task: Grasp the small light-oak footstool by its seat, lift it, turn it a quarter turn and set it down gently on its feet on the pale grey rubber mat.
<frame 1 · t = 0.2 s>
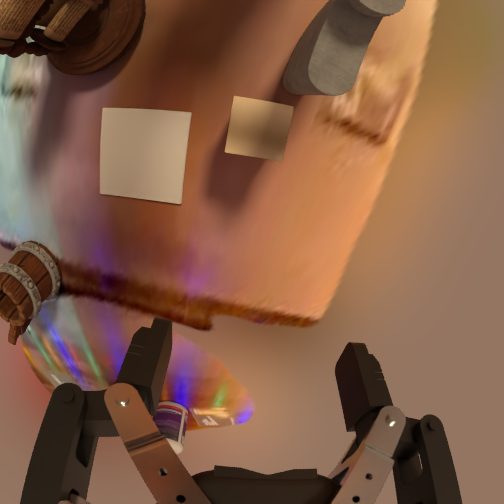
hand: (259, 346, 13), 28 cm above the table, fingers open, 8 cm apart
mat: (141, 154, 35), on the table
stool: (257, 121, 33), on the table
pill bottle: (172, 407, 64), on the table
hip flask: (317, 39, 28), on the table
mug: (41, 272, 45), on the table
scroll: (98, 24, 26), on the table
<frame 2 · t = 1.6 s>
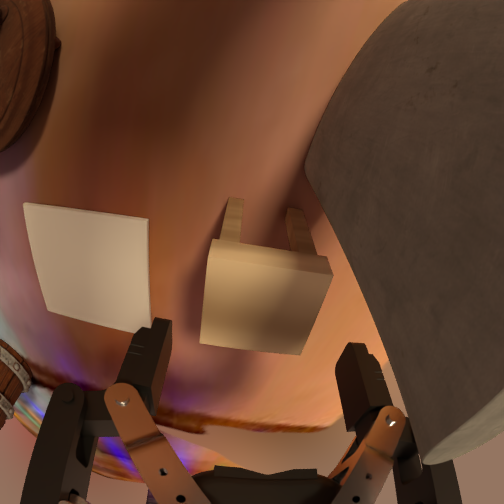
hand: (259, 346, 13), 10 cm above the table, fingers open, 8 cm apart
mat: (86, 272, 23), on the table
stool: (259, 235, 21), on the table
hip flask: (370, 84, 16), on the table
mug: (10, 362, 33), on the table
scroll: (2, 66, 14), on the table
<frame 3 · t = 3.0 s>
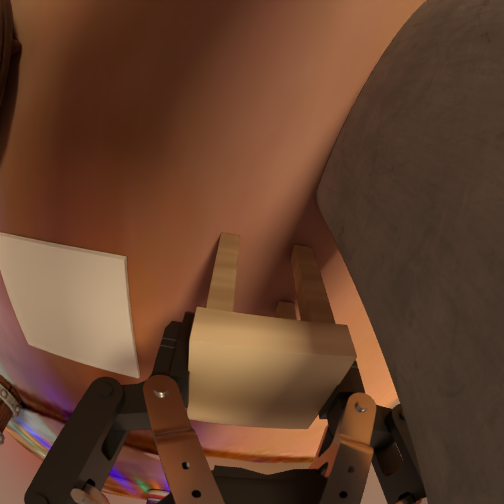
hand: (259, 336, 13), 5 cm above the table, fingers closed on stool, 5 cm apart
mat: (63, 310, 19), on the table
stool: (258, 277, 17), on the table, touching gripper
pill bottle: (166, 492, 49), on the table
hip flask: (399, 91, 12), on the table
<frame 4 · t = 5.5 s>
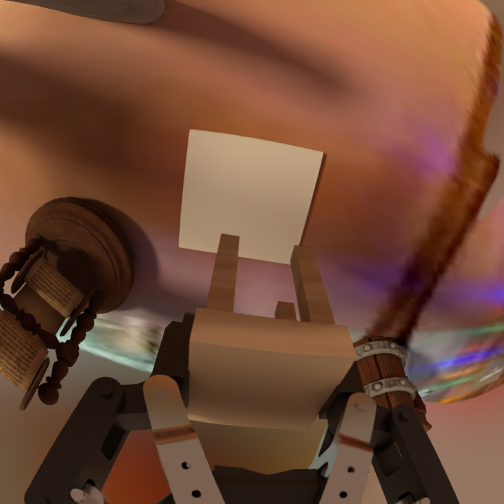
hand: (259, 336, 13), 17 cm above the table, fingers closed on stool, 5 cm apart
mat: (246, 200, 28), on the table
stool: (258, 278, 17), point 12 cm above the table, touching gripper
hip flask: (95, 2, 18), on the table
mug: (373, 360, 41), on the table
scroll: (83, 251, 31), on the table
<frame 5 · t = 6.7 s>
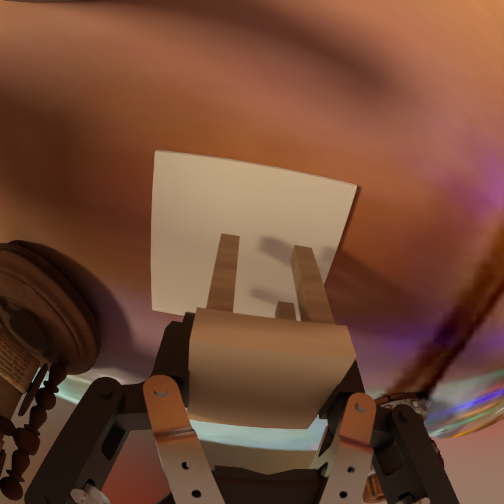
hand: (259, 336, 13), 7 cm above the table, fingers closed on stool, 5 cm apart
mat: (241, 252, 20), on the table
stool: (258, 278, 17), point 3 cm above the table, touching gripper
mug: (390, 413, 32), on the table
scroll: (41, 302, 23), on the table
when the fingers open (6 cm above the table, at t = 7.9 s): stool stays where it is, resting on mat.
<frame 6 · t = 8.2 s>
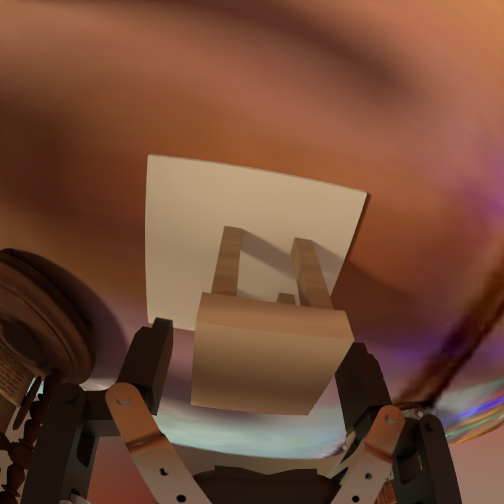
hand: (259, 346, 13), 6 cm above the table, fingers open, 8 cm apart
mat: (242, 264, 18), on the table
stool: (260, 269, 18), resting on mat
mug: (394, 421, 31), on the table
scroll: (35, 312, 22), on the table
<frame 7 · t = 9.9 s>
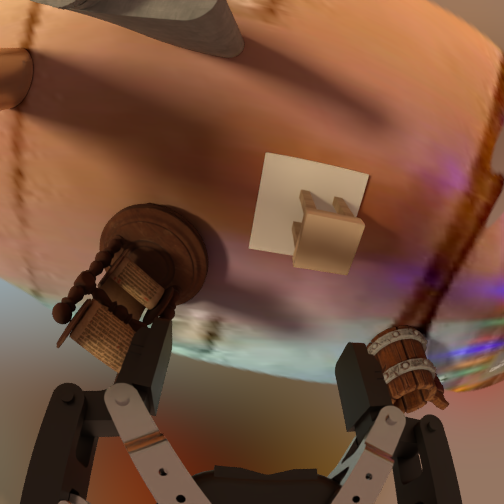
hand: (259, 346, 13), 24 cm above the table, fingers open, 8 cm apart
mat: (307, 210, 35), on the table
stool: (316, 213, 34), resting on mat
hip flask: (175, 29, 25), on the table
mug: (399, 346, 46), on the table
scroll: (156, 250, 39), on the table
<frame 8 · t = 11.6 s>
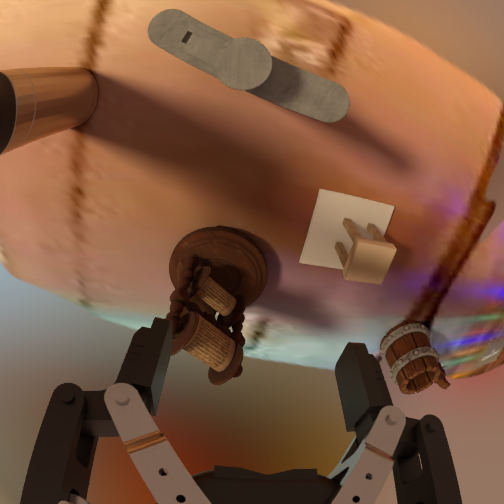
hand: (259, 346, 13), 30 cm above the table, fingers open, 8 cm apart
mat: (346, 233, 44), on the table
stool: (354, 235, 43), resting on mat
hip flask: (249, 77, 33), on the table
mug: (407, 338, 56), on the table
scroll: (219, 265, 47), on the table
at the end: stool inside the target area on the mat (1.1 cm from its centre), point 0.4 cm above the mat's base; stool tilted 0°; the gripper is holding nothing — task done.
